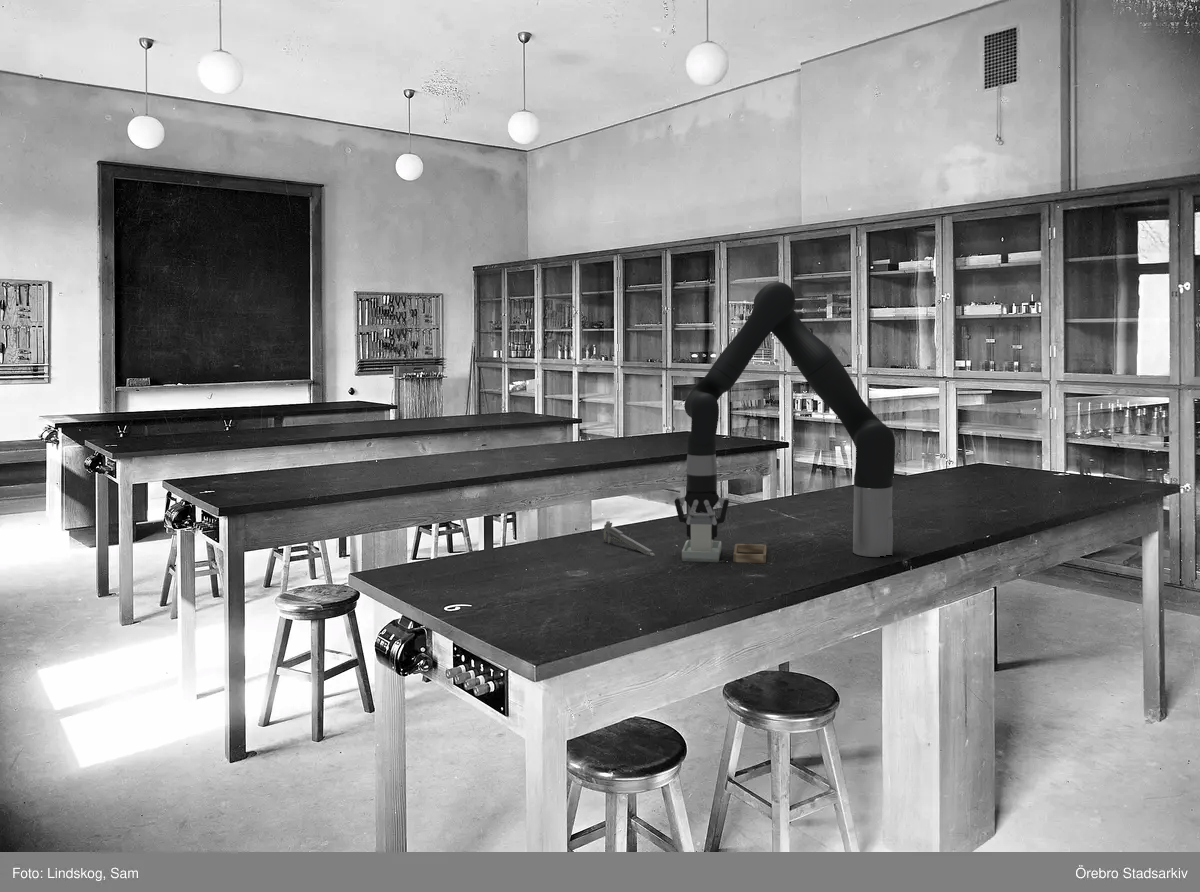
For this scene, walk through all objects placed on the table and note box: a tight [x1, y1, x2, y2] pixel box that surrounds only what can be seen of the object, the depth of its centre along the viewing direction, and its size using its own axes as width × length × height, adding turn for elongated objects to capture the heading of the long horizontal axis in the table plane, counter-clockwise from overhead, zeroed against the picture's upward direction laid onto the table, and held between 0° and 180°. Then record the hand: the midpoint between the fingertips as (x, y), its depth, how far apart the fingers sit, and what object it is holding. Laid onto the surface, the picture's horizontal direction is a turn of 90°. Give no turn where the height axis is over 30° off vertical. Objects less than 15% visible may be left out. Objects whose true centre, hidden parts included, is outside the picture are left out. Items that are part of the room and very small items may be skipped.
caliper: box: [603, 520, 656, 557], centre depth 240 cm, size 20×1×6 cm, turn 37°
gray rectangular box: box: [690, 513, 714, 552], centre depth 230 cm, size 5×8×8 cm, turn 169°
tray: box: [681, 539, 722, 563], centre depth 231 cm, size 9×12×2 cm
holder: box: [732, 543, 767, 564], centre depth 229 cm, size 8×11×2 cm
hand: (702, 538), depth 230 cm, fingers closed on gray rectangular box, 5 cm apart
